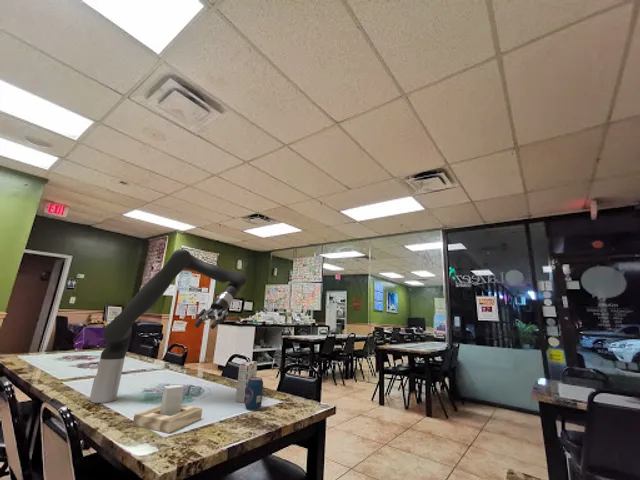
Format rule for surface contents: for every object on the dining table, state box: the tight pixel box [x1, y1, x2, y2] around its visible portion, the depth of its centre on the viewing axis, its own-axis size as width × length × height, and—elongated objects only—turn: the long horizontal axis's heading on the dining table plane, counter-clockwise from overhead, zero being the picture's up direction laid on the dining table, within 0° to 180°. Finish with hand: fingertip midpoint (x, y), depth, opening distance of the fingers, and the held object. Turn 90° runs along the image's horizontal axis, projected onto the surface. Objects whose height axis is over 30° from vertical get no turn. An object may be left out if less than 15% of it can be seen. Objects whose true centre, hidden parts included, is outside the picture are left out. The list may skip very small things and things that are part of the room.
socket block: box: [131, 404, 203, 434], centre depth 108 cm, size 16×16×4 cm
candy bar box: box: [235, 360, 258, 404], centre depth 142 cm, size 11×5×16 cm, turn 168°
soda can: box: [244, 376, 264, 411], centre depth 129 cm, size 7×7×12 cm
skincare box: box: [160, 384, 185, 416], centre depth 109 cm, size 6×4×12 cm
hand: (203, 327), depth 134 cm, fingers open, 8 cm apart
